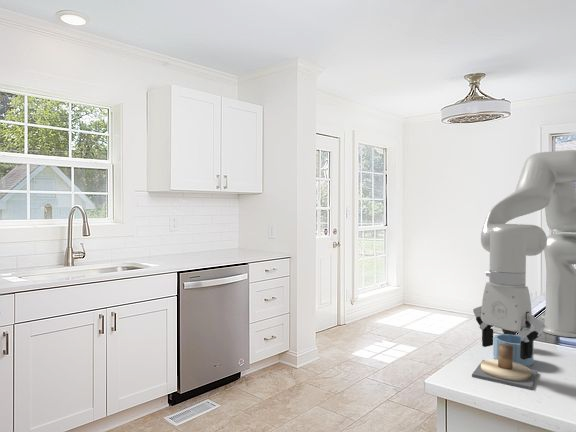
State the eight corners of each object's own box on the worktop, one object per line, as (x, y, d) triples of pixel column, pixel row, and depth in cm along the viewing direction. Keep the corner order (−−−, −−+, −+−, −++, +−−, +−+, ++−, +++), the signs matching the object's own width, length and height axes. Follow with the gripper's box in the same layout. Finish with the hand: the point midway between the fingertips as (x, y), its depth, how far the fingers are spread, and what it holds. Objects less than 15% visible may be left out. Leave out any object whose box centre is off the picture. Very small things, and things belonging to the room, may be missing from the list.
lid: (485, 361, 108) (485, 336, 108) (533, 370, 102) (533, 344, 102) (476, 373, 99) (476, 347, 99) (527, 384, 93) (528, 356, 93)
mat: (482, 362, 109) (482, 359, 109) (537, 373, 102) (537, 370, 102) (471, 376, 99) (472, 374, 99) (531, 389, 92) (531, 386, 92)
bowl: (497, 352, 117) (497, 332, 117) (535, 359, 111) (535, 338, 111) (490, 361, 109) (490, 340, 109) (531, 369, 104) (531, 347, 104)
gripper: (465, 274, 106) (464, 343, 106) (533, 286, 91) (532, 366, 91) (485, 272, 110) (484, 339, 110) (554, 283, 94) (553, 360, 95)
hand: (506, 351), depth 101 cm, fingers open, 9 cm apart
